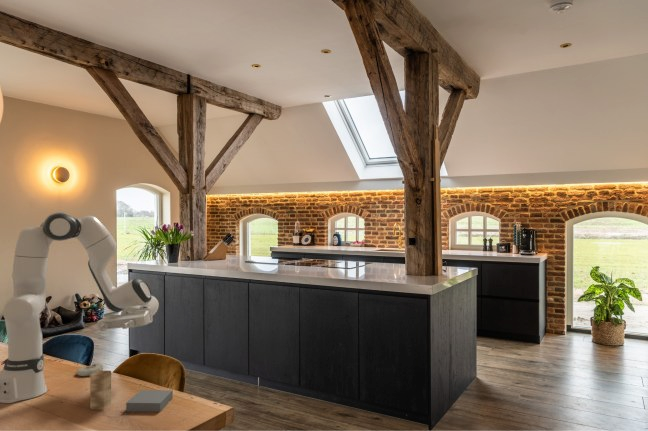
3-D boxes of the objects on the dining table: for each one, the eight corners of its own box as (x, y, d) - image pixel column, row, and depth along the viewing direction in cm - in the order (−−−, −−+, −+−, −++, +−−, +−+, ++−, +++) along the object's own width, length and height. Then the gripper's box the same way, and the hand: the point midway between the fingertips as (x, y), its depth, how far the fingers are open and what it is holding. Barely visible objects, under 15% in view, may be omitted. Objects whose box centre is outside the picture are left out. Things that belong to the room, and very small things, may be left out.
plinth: (126, 411, 162) (126, 402, 162) (140, 398, 174) (140, 390, 174) (160, 411, 162) (160, 403, 162) (172, 398, 174) (172, 390, 174)
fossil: (90, 359, 210) (109, 363, 208) (89, 367, 210) (108, 371, 208) (72, 367, 199) (92, 371, 197) (71, 375, 199) (91, 379, 197)
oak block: (90, 409, 164) (90, 375, 164) (97, 403, 169) (97, 370, 169) (104, 409, 164) (104, 375, 164) (111, 403, 169) (111, 370, 169)
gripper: (108, 311, 192) (86, 322, 179) (153, 306, 189) (135, 317, 175) (110, 326, 193) (89, 338, 179) (156, 321, 189) (138, 333, 176)
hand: (112, 328), depth 177 cm, fingers open, 8 cm apart
